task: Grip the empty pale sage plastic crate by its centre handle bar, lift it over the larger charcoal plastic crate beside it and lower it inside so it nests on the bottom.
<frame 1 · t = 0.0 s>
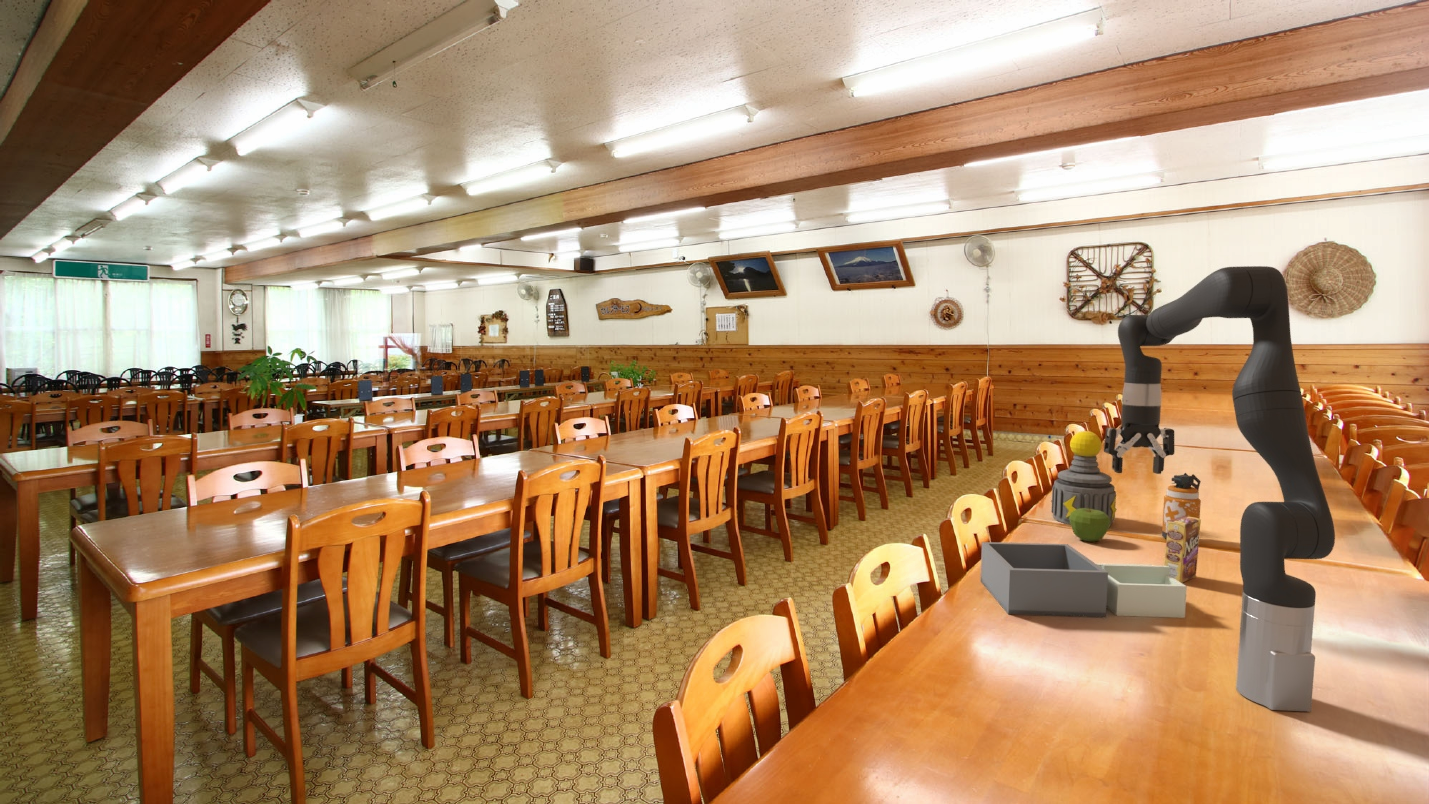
hand: (1137, 473, 156), 29 cm above the table, tool pointing down, fingers open, 8 cm apart
apple: (1088, 541, 202), on the table
small crate: (1133, 604, 153), on the table
canister: (1181, 540, 202), on the table
decorative lamp: (1082, 521, 224), on the table
big crate: (1038, 598, 157), on the table
candy box: (1180, 579, 169), on the table
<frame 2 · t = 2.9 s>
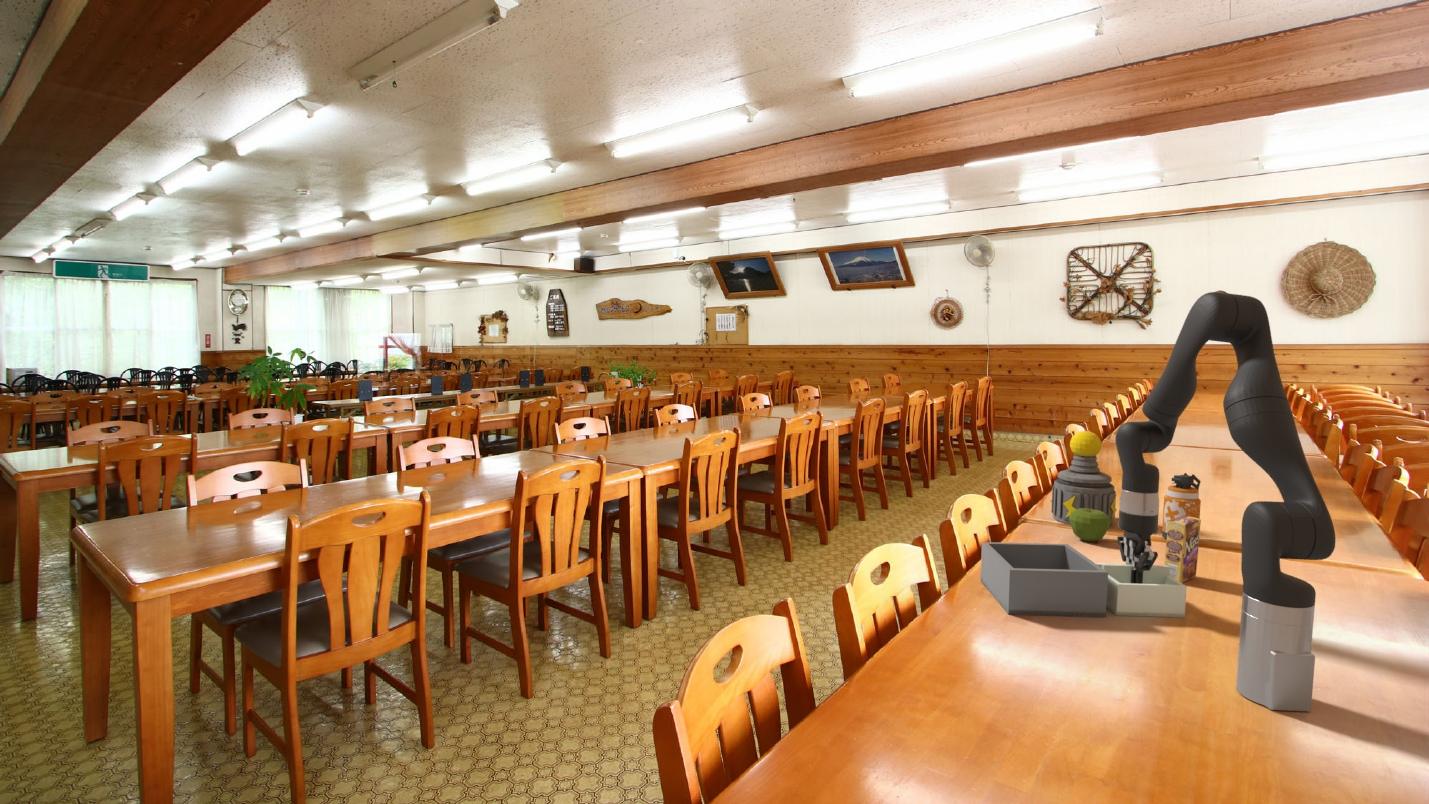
hand: (1134, 584, 153), 5 cm above the table, tool pointing down, fingers closed on small crate
small crate: (1133, 604, 153), on the table, touching gripper
everything else where it was.
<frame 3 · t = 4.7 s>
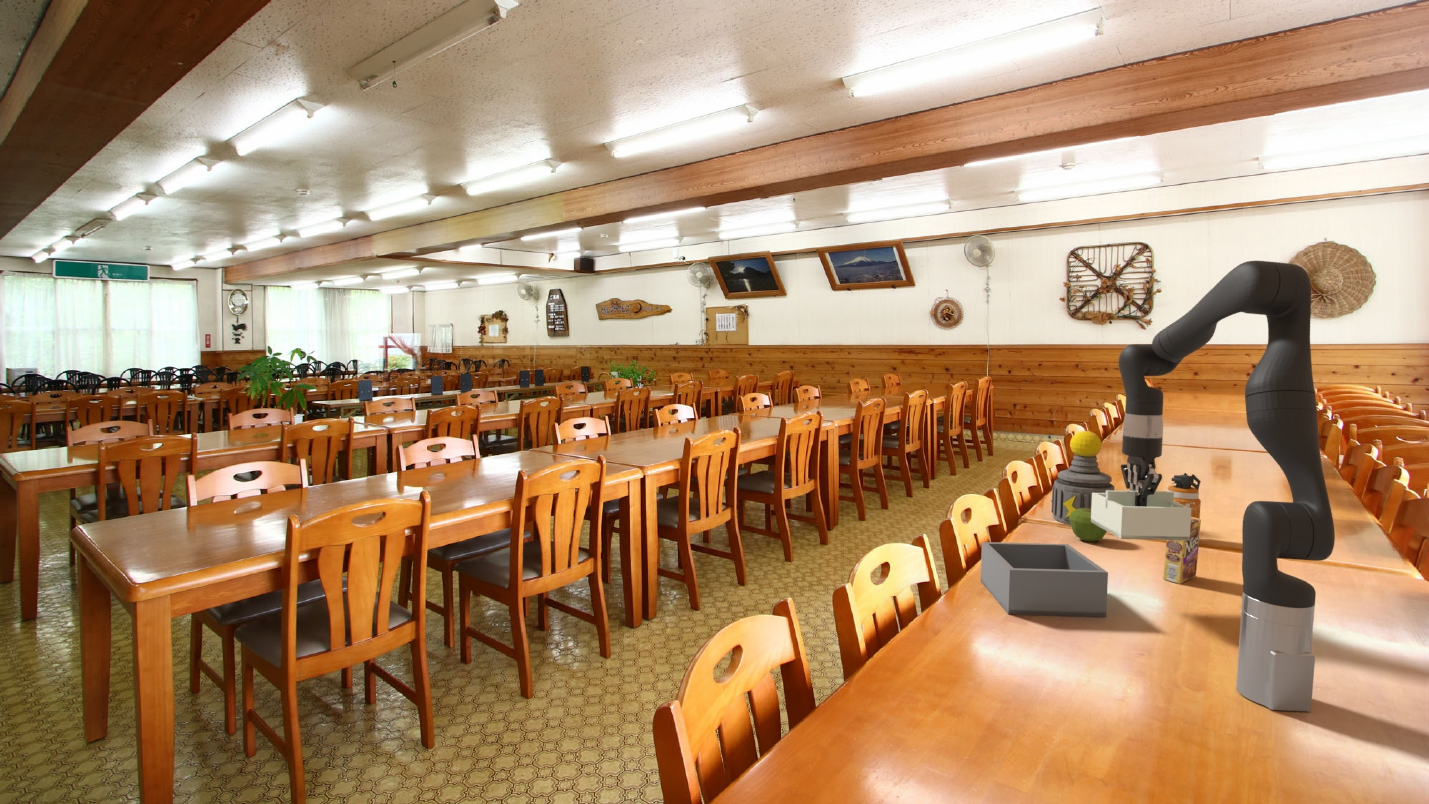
hand: (1138, 510, 151), 22 cm above the table, tool pointing down, fingers closed on small crate
small crate: (1137, 530, 152), point 17 cm above the table, touching gripper
everything else where it was.
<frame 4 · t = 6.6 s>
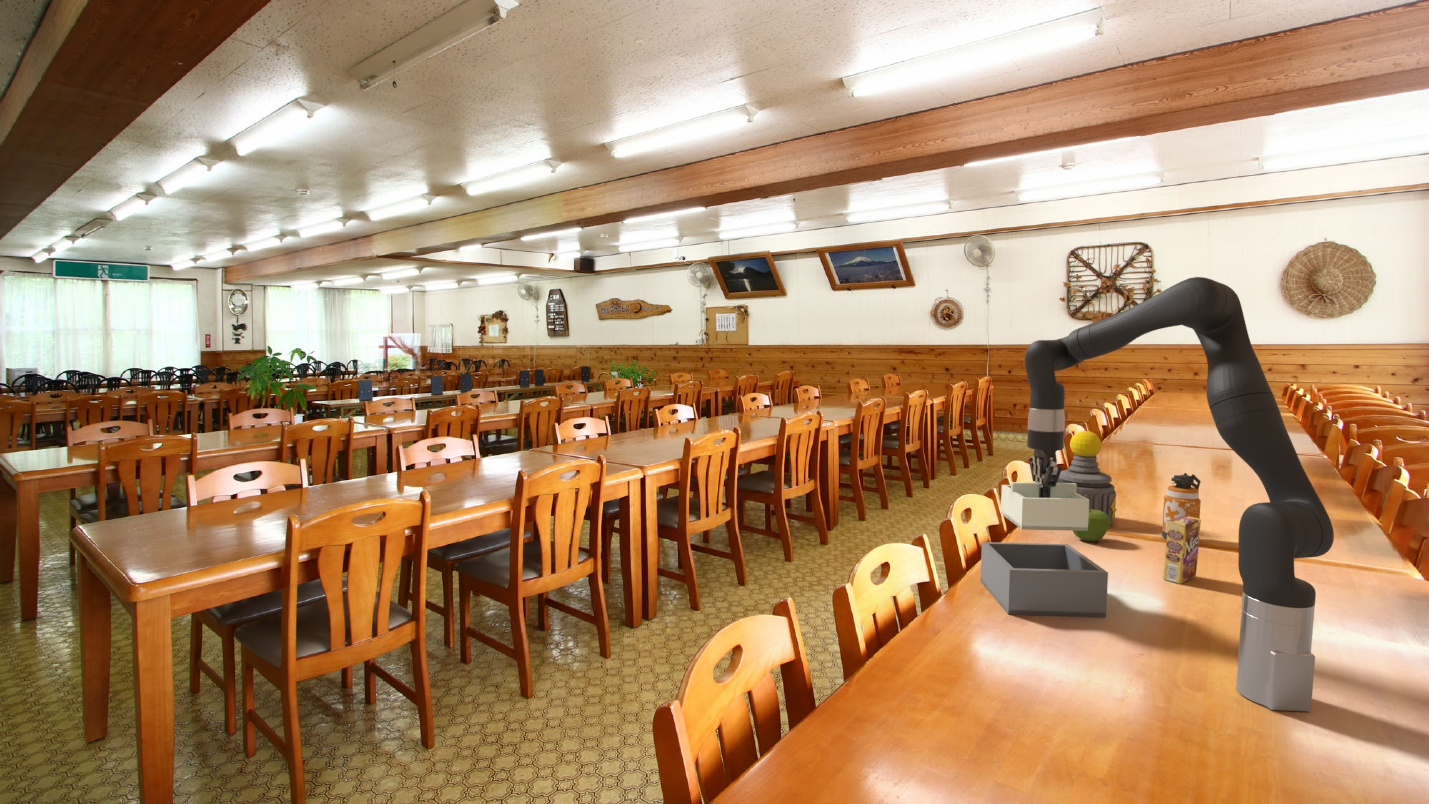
hand: (1042, 502, 155), 23 cm above the table, tool pointing down, fingers closed on small crate
small crate: (1042, 521, 156), point 18 cm above the table, touching gripper
everything else where it was.
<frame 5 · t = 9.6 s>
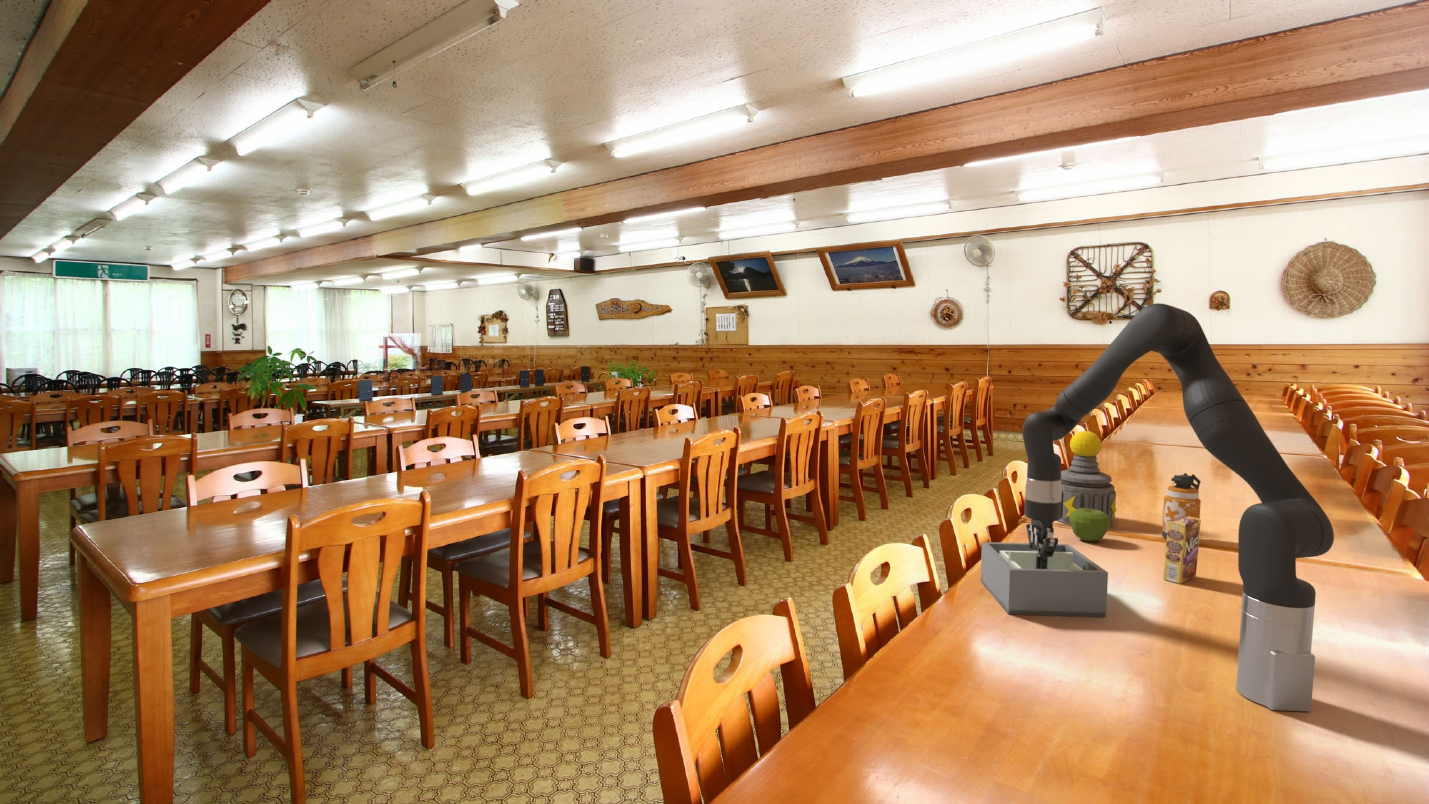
hand: (1040, 571, 157), 6 cm above the table, tool pointing down, fingers closed on small crate
small crate: (1039, 589, 157), point 2 cm above the table, touching gripper
everything else where it was.
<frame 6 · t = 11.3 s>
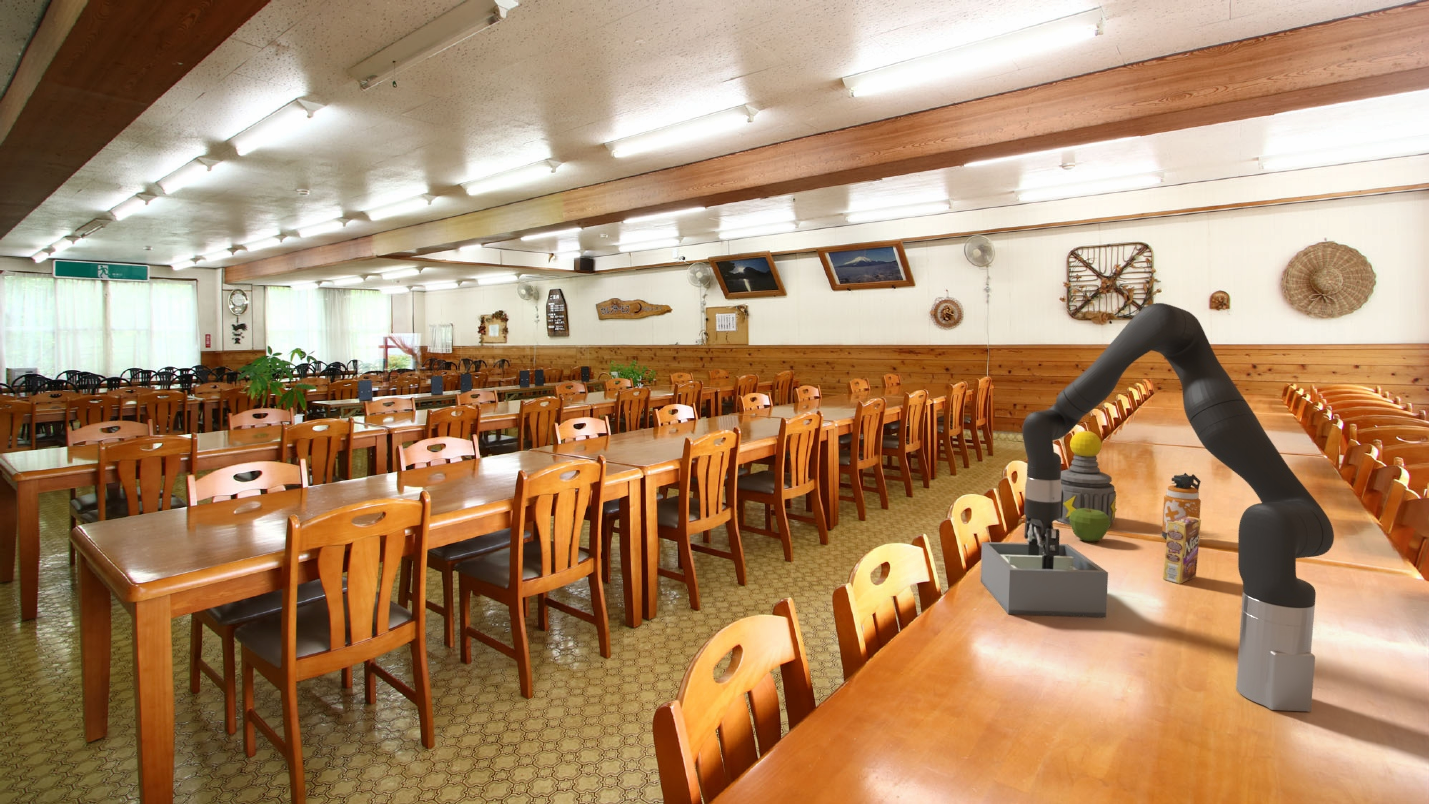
hand: (1040, 565, 157), 8 cm above the table, tool pointing down, fingers open, 8 cm apart
small crate: (1039, 594, 157), point 1 cm above the table, touching big crate
everything else where it was.
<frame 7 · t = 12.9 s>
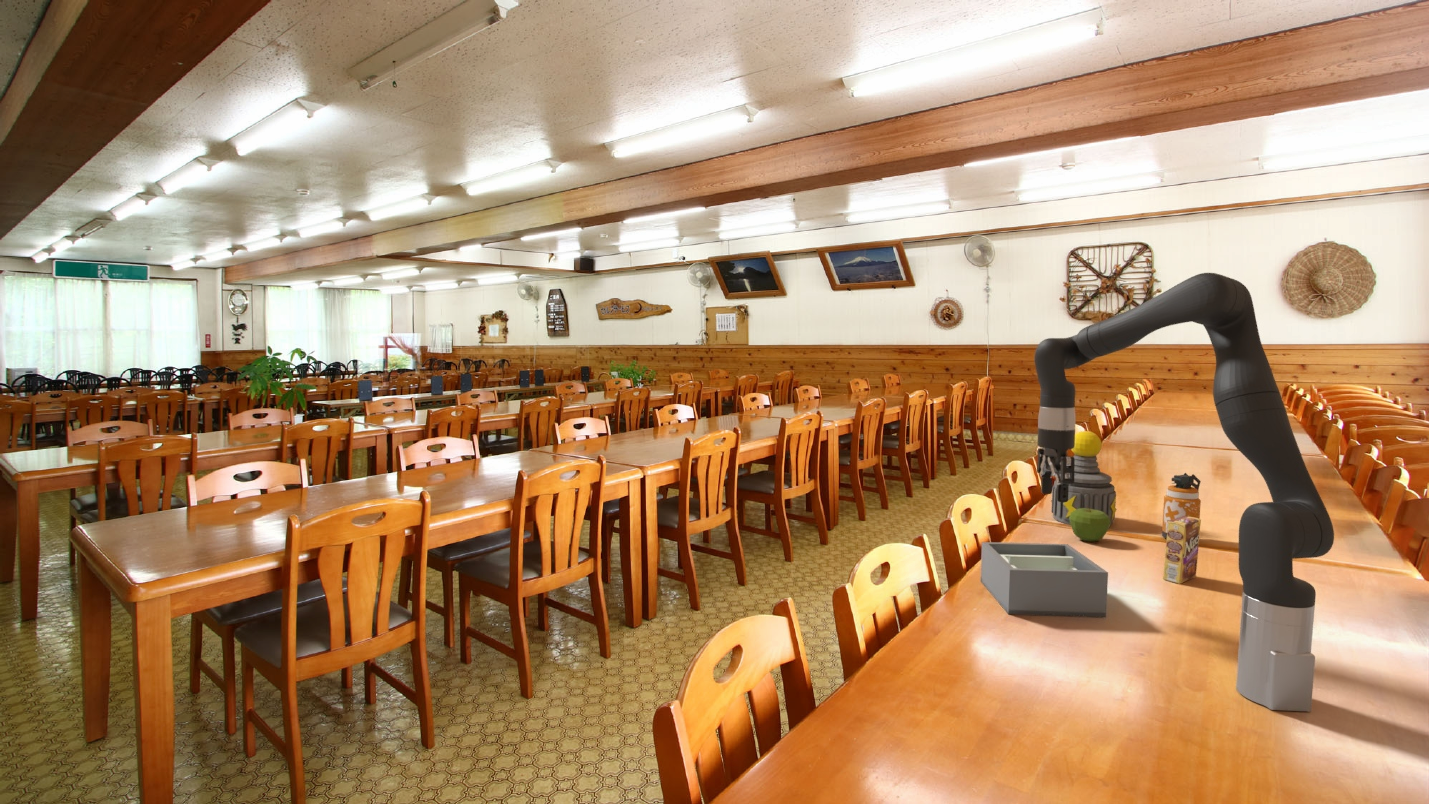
hand: (1054, 497, 154), 24 cm above the table, tool pointing down, fingers open, 8 cm apart
nothing on the table moved.
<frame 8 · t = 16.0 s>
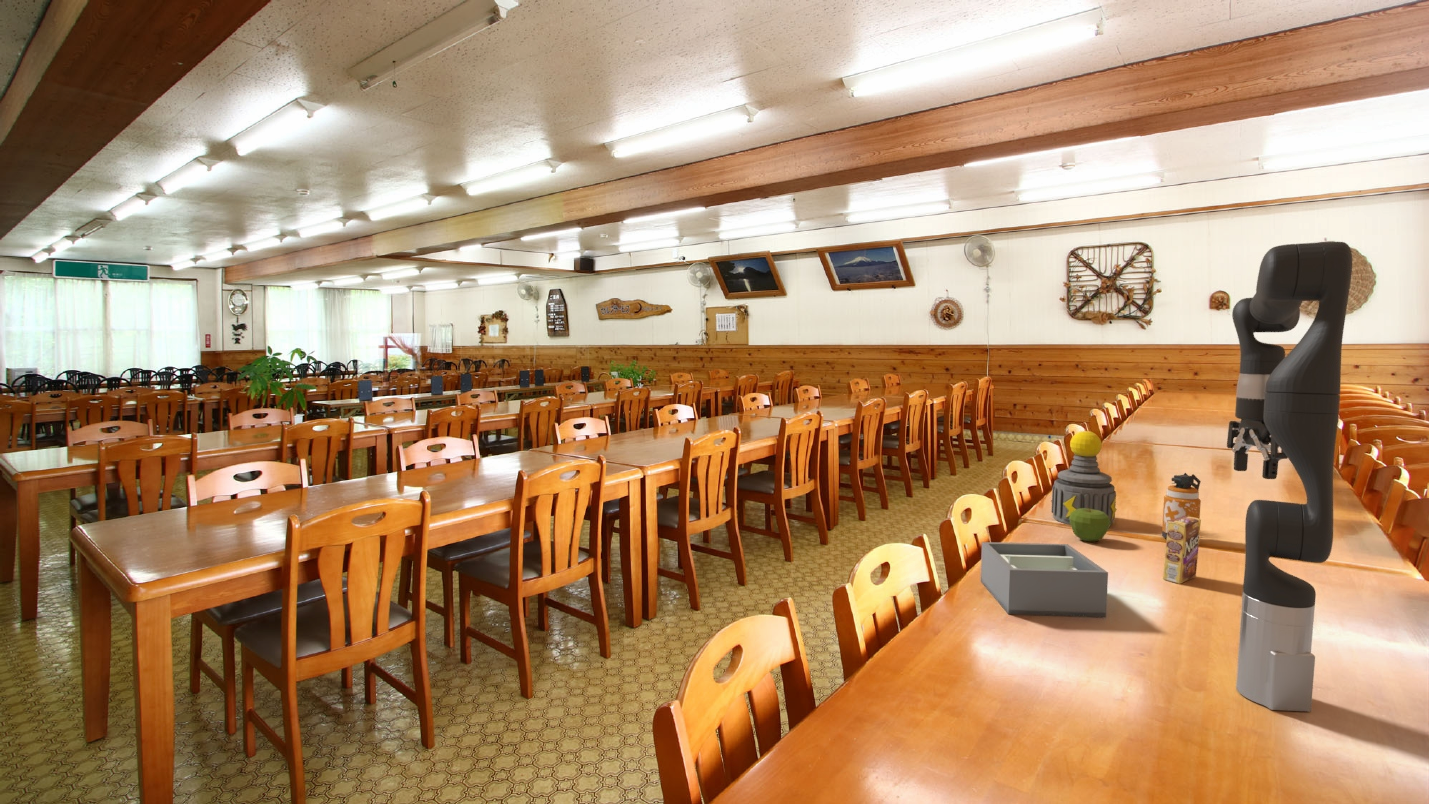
hand: (1254, 474, 139), 32 cm above the table, tool pointing down, fingers open, 8 cm apart
nothing on the table moved.
at the end: small crate 0.1 cm off-centre on the big crate, point 1.0 cm above the big crate's base; small crate tilted 0°; the gripper is holding nothing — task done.
